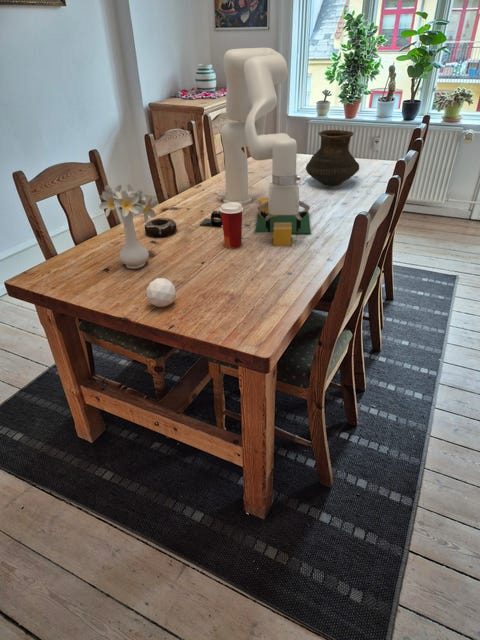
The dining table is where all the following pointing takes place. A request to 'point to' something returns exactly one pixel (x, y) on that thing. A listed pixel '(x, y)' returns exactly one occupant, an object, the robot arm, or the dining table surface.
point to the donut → (160, 227)
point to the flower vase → (129, 221)
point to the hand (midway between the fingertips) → (283, 230)
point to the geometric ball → (161, 292)
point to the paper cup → (232, 224)
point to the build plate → (213, 220)
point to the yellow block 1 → (261, 201)
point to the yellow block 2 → (282, 234)
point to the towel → (285, 219)
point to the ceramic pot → (333, 159)
